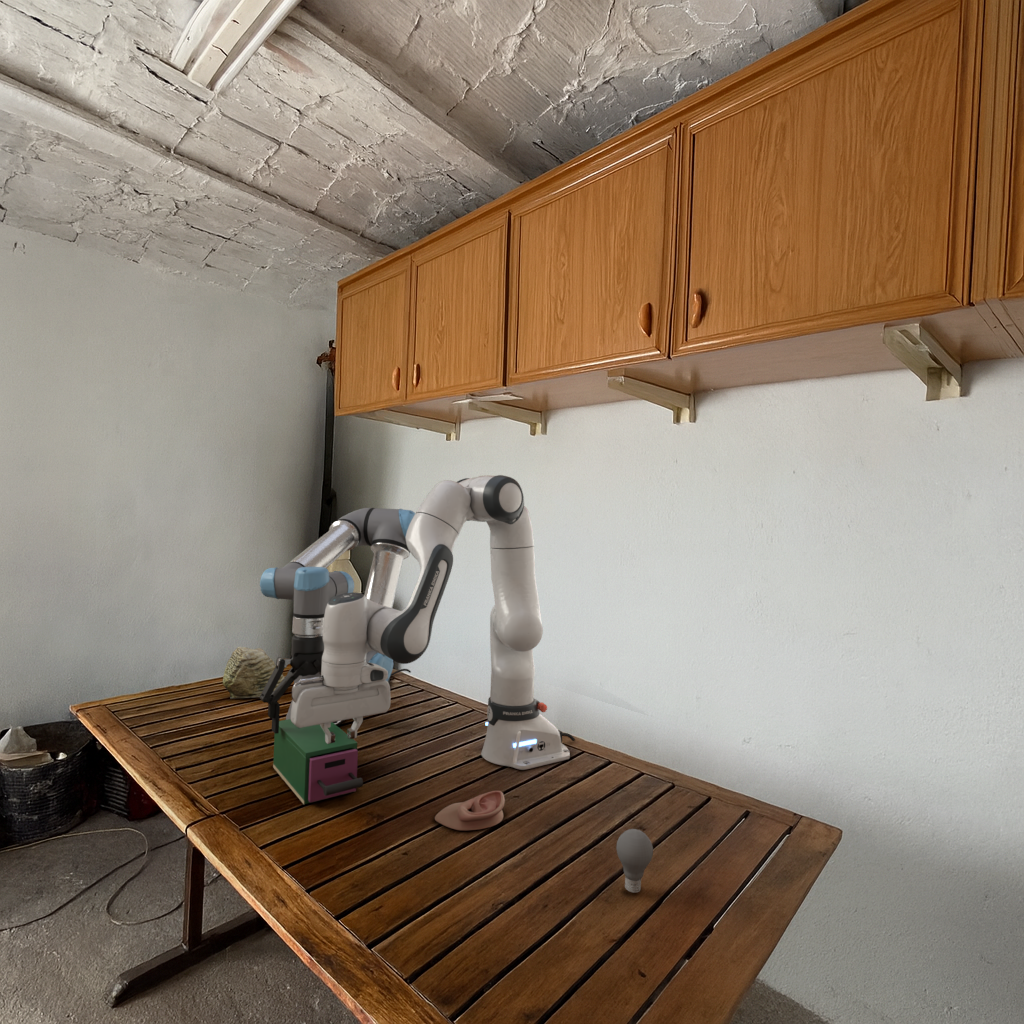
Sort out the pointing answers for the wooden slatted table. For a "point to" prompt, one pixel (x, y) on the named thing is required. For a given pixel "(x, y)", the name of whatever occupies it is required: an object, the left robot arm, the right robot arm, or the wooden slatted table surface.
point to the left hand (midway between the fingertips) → (305, 726)
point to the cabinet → (303, 753)
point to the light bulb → (634, 857)
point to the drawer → (333, 774)
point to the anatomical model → (474, 812)
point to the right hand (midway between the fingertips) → (341, 740)
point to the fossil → (248, 672)
